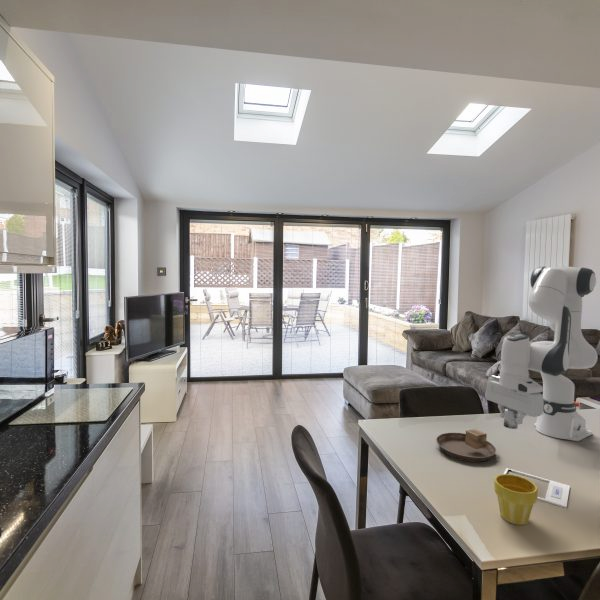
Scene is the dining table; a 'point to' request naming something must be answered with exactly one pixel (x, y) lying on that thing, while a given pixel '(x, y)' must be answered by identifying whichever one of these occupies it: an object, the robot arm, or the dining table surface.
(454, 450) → the plant saucer
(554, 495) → the photo frame
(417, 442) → the dining table surface
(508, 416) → the grey metal peg
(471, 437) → the walnut block
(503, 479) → the plant pot
